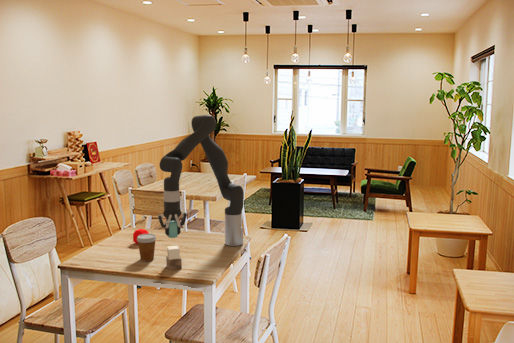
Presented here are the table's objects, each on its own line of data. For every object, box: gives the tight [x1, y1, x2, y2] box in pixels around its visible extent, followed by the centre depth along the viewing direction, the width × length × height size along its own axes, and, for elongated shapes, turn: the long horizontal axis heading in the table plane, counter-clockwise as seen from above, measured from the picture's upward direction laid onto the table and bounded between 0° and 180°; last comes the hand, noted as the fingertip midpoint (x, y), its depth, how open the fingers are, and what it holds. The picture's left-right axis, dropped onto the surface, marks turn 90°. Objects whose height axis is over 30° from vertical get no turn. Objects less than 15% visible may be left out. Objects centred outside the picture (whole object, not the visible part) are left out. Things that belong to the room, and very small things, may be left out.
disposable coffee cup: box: [137, 233, 157, 262], centre depth 252 cm, size 10×10×12 cm
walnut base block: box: [165, 256, 182, 271], centre depth 241 cm, size 6×6×5 cm
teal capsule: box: [167, 221, 179, 239], centre depth 239 cm, size 4×4×7 cm
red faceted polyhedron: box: [132, 228, 150, 245], centre depth 278 cm, size 8×8×8 cm
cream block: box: [166, 245, 181, 260], centre depth 241 cm, size 5×5×5 cm
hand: (172, 234), depth 239 cm, fingers closed on teal capsule, 4 cm apart
